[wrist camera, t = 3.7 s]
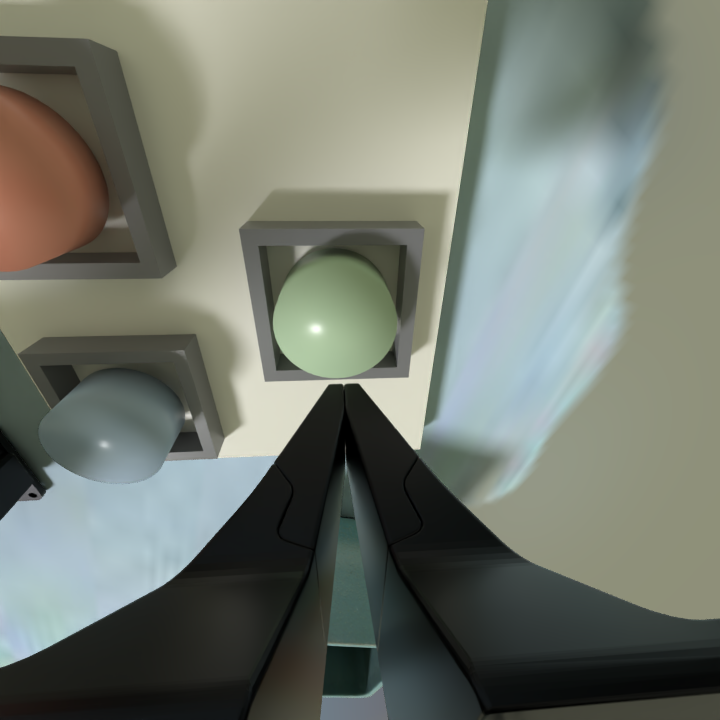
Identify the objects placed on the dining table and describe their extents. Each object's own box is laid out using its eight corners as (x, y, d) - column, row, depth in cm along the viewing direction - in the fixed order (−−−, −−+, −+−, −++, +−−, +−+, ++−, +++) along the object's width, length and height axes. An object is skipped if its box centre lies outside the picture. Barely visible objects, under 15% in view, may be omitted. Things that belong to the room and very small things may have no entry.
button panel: (98, 444, 21) (67, 485, 19) (-160, -16, 11) (-315, -66, 8) (415, 432, 22) (425, 468, 20) (472, 10, 12) (510, -27, 9)
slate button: (101, 445, 18) (69, 486, 16) (58, 369, 15) (14, 405, 13) (195, 442, 18) (177, 481, 16) (169, 366, 15) (144, 401, 13)
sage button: (287, 349, 16) (280, 379, 14) (274, 248, 14) (264, 267, 12) (385, 347, 17) (393, 376, 15) (391, 247, 14) (401, 265, 12)
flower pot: (400, 509, 27) (426, 650, 19) (360, 565, 31) (369, 700, 24) (291, 489, 25) (273, 641, 17) (264, 553, 29) (241, 697, 22)
